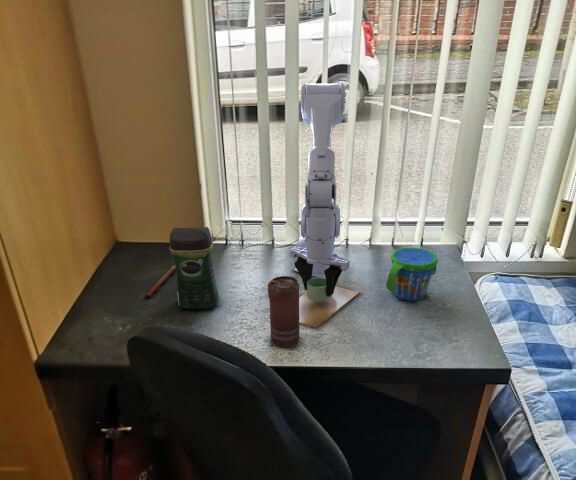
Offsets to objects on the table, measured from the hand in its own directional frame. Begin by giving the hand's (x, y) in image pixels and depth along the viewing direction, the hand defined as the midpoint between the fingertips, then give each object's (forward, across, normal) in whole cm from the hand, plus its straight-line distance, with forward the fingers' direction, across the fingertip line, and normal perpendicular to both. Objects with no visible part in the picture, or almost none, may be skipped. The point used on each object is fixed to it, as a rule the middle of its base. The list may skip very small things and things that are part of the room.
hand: (318, 291), depth 134 cm
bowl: (+2, 0, 0) cm, 2 cm away
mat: (+3, 0, 0) cm, 3 cm away
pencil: (+3, -40, -11) cm, 42 cm away
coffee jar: (+4, -24, -15) cm, 29 cm away
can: (+4, +2, -18) cm, 19 cm away
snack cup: (+4, +16, +16) cm, 23 cm away
